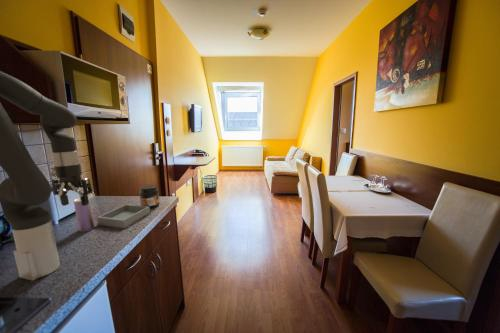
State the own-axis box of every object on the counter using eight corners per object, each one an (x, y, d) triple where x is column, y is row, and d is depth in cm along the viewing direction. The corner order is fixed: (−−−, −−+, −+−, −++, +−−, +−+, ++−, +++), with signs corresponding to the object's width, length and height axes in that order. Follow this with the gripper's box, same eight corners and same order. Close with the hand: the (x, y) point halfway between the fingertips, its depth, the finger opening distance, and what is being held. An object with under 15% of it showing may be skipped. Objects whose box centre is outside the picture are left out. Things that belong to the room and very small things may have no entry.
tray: (124, 228, 104) (123, 220, 104) (98, 224, 108) (96, 217, 108) (150, 213, 121) (149, 206, 121) (126, 210, 126) (125, 204, 125)
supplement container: (152, 209, 127) (150, 189, 124) (136, 208, 129) (134, 188, 127) (163, 203, 137) (161, 184, 135) (148, 202, 139) (146, 184, 137)
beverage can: (86, 232, 101) (81, 201, 98) (75, 231, 102) (70, 201, 99) (97, 226, 106) (92, 197, 103) (87, 225, 107) (82, 196, 104)
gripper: (40, 166, 79) (49, 208, 82) (75, 165, 77) (83, 208, 80) (60, 162, 86) (68, 201, 89) (92, 161, 84) (99, 201, 87)
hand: (75, 205), depth 85 cm, fingers open, 8 cm apart
